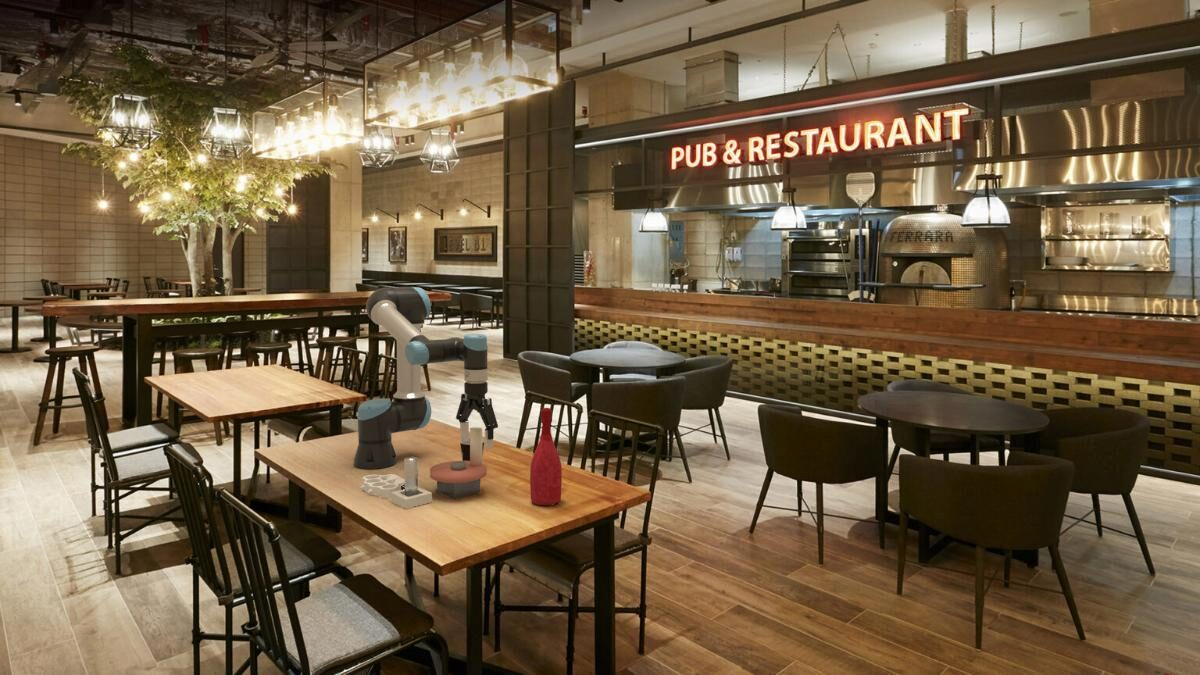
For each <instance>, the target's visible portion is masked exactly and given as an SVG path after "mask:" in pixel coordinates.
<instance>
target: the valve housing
mask: <svg viewBox="0 0 1200 675" xmlns="http://www.w3.org/2000/svg"><path fill="white" fill-rule="evenodd" d="M436 493H438V494H439V495H440V494H441V495H442V494H443V495H442V496H445V497H448V498H450V499H452V500H458V499H463V498H465V497H469V496H473V495H476V494H477V495H478V494H481V479H479V480H476V481H471V482H465V483H444V482H439V481H436Z"/></svg>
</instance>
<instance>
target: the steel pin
mask: <svg viewBox="0 0 1200 675" xmlns="http://www.w3.org/2000/svg"><path fill="white" fill-rule="evenodd" d="M403 461H404V462H403V463H404V464H403V465H404V466H403V467H404V472H403V473H404V479H405V496H407V497H410V496H414V495H418V487H419V474H418V472H419V467H418V462H419V461H418V457H417V456H406V457H404V458H403Z"/></svg>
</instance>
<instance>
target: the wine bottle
mask: <svg viewBox="0 0 1200 675" xmlns="http://www.w3.org/2000/svg"><path fill="white" fill-rule="evenodd" d="M540 413H541V416H540V417H541V418H540V423H541V424H542V425H541V432H540V437H539V440H538V441H539V442H538V444H537V446H536V448H535V451H534V453H533V455H532V458H531V462H530V472H529V481H530V482H529V486H530V488H529V489H530V491H529V492H530V500H531V502H532V503H533V504H534V505H537V506H541V505H549V506H553V505H552V504H554V505H556V504H555V503H557V504H558V503H560V502H561V499H562V478H563V477H562V476H563V474H562V469H563V468H562V461H561V458H560V455H559V452H558V450H557V448H556V445H555V443H554V440H553V436H552V430H551V423H553V416H552V414H553V412H552V408H550V407H544V408H541V411H540Z"/></svg>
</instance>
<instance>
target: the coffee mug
mask: <svg viewBox="0 0 1200 675" xmlns="http://www.w3.org/2000/svg"><path fill="white" fill-rule="evenodd" d="M459 442H460V443H459V444H460V452H461V461H470V438H469V441H466V442H461V440H460V441H459ZM484 450H485V439H482V459H483V456H484Z"/></svg>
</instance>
